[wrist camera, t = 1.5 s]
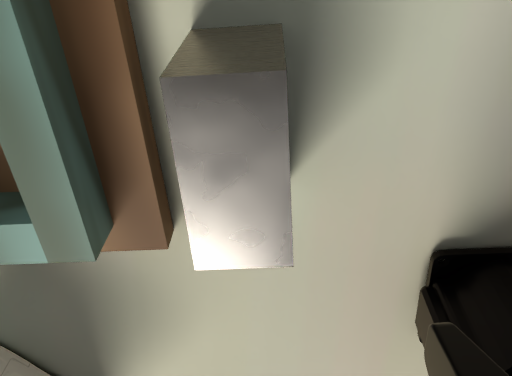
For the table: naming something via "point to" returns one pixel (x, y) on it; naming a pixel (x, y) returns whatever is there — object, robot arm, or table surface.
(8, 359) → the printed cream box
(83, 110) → the well board
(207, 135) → the silver metal block
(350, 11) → the table surface
